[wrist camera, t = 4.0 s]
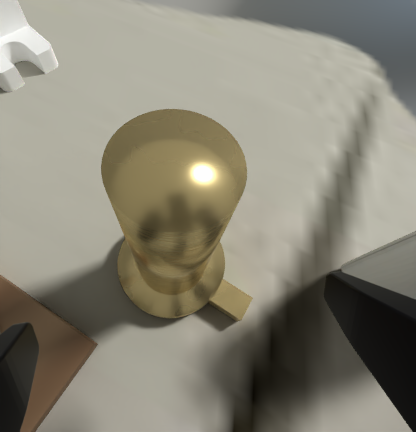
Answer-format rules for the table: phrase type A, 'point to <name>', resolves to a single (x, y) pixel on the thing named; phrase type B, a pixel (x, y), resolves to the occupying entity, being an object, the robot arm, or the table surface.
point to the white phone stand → (20, 46)
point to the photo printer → (388, 266)
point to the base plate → (44, 350)
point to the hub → (175, 211)
